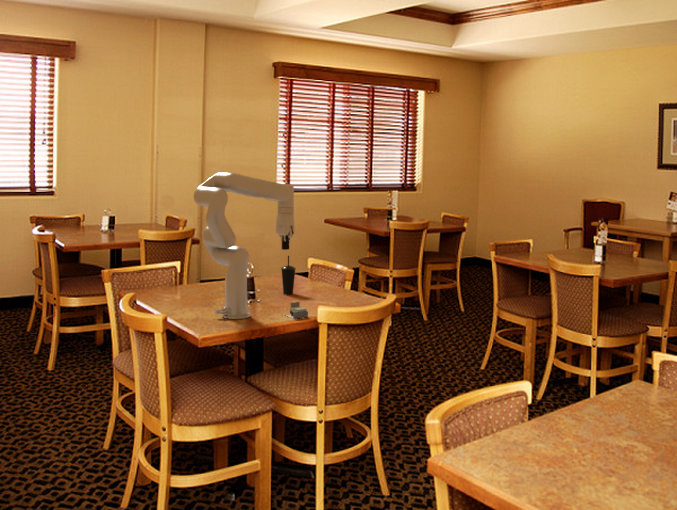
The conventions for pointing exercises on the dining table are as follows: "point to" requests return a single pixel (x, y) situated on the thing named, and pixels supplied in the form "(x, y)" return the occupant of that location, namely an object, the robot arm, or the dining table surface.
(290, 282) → the drinking cup
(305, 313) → the dock
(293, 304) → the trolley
